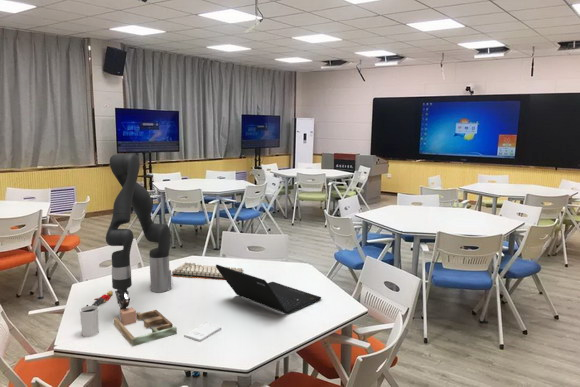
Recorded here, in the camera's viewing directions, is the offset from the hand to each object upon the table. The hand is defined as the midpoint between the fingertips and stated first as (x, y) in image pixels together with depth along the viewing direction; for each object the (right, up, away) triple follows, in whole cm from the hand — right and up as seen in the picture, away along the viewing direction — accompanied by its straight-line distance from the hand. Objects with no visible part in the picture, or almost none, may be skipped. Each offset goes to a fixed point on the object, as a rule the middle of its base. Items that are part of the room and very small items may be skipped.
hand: (123, 315), depth 185 cm
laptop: (+61, 0, +19) cm, 63 cm away
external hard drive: (+36, -4, -13) cm, 39 cm away
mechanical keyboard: (+25, +6, +59) cm, 64 cm away
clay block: (+3, -2, -4) cm, 5 cm away
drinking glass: (-7, -3, -14) cm, 16 cm away
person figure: (-17, +1, +17) cm, 24 cm away
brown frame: (+12, -3, -10) cm, 16 cm away
